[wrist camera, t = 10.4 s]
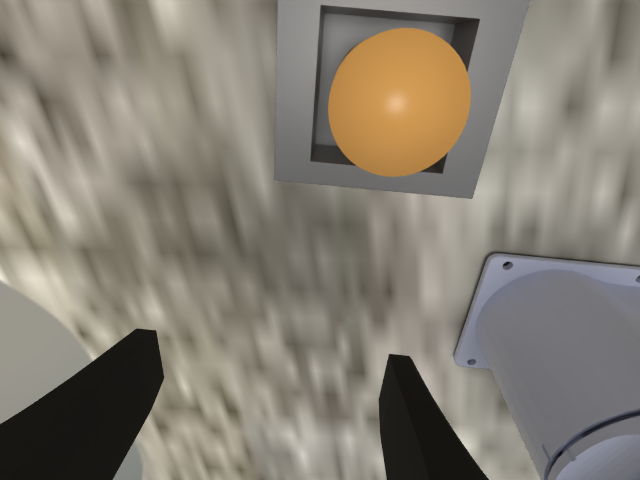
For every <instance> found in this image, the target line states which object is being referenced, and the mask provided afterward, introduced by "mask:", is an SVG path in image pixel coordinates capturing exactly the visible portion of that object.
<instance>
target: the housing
mask: <svg viewBox="0 0 640 480" xmlns="http://www.w3.org/2000/svg"><path fill="white" fill-rule="evenodd" d="M529 3H530V0H278V21H277V70H276V119H275V167H274V180H278V181H288V182H299V183H310V184H320V185H331V186H341V187H352V188H363V189H373V190H384V191H395V192H405V193H416V194H427V195H437V196H448V197H458V198H469V199H472V198H473V195H474V191H475V188H476V184H477V181H478V178H479V174H480V171H481V167H482V164H483V160H484V157H485V154H486V150H487V147H488V143H489V140H490V136H491V133H492V130H493V126H494V123H495V119H496V116H497V112H498V109H499V106H500V102H501V99H502V95H503V92H504V88H505V85H506V82H507V78H508V75H509V71H510V68H511V64H512V61H513V58H514V54H515V51H516V47H517V44H518V40H519V37H520V34H521V30H522V27H523V23H524V20H525V16H526V13H527V10H528V6H529Z"/></svg>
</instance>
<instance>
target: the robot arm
mask: <svg viewBox="0 0 640 480" xmlns="http://www.w3.org/2000/svg"><path fill="white" fill-rule="evenodd" d="M509 261H510V263H509V264H508V265H506V266H503V264H504V263H505V262H509ZM638 276H640V267H635V266H624V265H614V264H604V263H593V262H583V261H573V260H562V259H552V258H541V257H531V256H521V255H510V254H500V253H497V254H493V255H491V256H489V257H488V259H487V260H486V263H485V266H484V269H483V272H482V275H481V278H480V281H479V284H478V287H477V290H476V293H475V296H474V299H473V302H472V305H471V308H470V310H469V313H468V316H467V319H466V322H465V325H464V328H463V331H462V334H461V337H460V340H459V343H458V346H457V349H456V352H455V355H454V360H455V363H456V364H457V365H458V366H462V367H472V368H481V369H490V370H491V372H492V374H493V376H494V378H495V381H496V383H497V385H498V387H499V389H500V392H501V394H502V396H503V398H504V400H505V402H506V405H507V407H508V409H509V411H510V413H511V415H512V418H513V420H514V422H515V424H516V426H517V428H518V431H519V433H520V435H521V437H522V439H523V442H524V444H525V446H526V448H527V450H528V452H529V455H530V457H531V459H532V461H533V463H534V465H535V468H536V470H537V472H538V474H539V476H540V479H541V480H640V277H638ZM637 277H638V278H637ZM470 359H472V360H470ZM163 379H164V374H163V368H162V362H161V356H160V350H159V344H158V339H157V333H156V331H155V330H145V329H136V330H134V331H133V332H131V333H130V334H129V335H127V336H126V337H125V338H123V339H122V340H121V341H119V342H118V343H117V344H115V345H114V346H113V347H111V348H110V349H109V350H107V351H106V352H105V353H103V354H102V355H101V356H99V357H98V358H97V359H96V360H94V361H93V362H91V363H90V364H89V365H87V366H86V367H85V368H83V369H82V370H81V371H79V372H78V373H77V374H75V375H74V376H72V377H71V378H70V379H68V380H67V381H65V382H64V383H62V384H61V385H59V386H58V387H57V388H55V389H54V390H52V391H51V392H49V393H48V394H46V395H45V396H43V397H42V398H40V399H39V400H38V401H36V402H35V403H33V404H32V405H30V406H29V407H27V408H26V409H24V410H22V411H21V412H19V413H18V414H16V415H14V416H13V417H11V418H10V419H8V420H6V421H5V422H3V423H1V424H0V480H113V478H114V476H115V474H116V472H117V471H118V469H119V467H120V465H121V464H122V462H123V460H124V458H125V456H126V455H127V453H128V451H129V449H130V447H131V445H132V444H133V442H134V440H135V438H136V437H137V435H138V433H139V431H140V429H141V428H142V426H143V424H144V422H145V420H146V418H147V417H148V415H149V413H150V411H151V409H152V406H153V404H154V402H155V399H156V397H157V395H158V392H159V390H160V387H161V384H162V382H163ZM379 418H380V435H381V443H382V449H383V456H384V463H385V470H386V476H387V480H489V479H488V478H487V477H486V475H485V474H484V473H483V471H482V470H481V469H480V467H479V466H478V465H477V463H476V462H475V461H474V459H473V458H472V457H471V455H470V454H469V452H468V451H467V449H466V448H465V447H464V445H463V444H462V442H461V441H460V439H459V438H458V436H457V435H456V433H455V432H454V430H453V429H452V427H451V426H450V424H449V423H448V421H447V420H446V418H445V416H444V415H443V413H442V412H441V410H440V408H439V407H438V405H437V404H436V402H435V400H434V399H433V397H432V395H431V393H430V392H429V390H428V388H427V386H426V385H425V383H424V381H423V379H422V378H421V376H420V374H419V372H418V370H417V368H416V366H415V364H414V362H413V360H412V359H411V358H410V356H404V355H394V354H389V357H388V361H387V366H386V370H385V375H384V379H383V384H382V388H381V392H380V397H379Z"/></svg>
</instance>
